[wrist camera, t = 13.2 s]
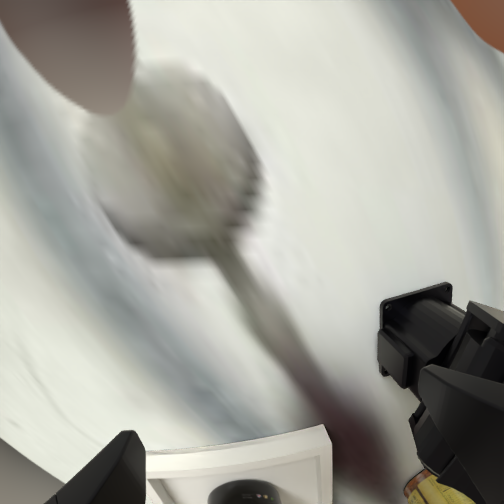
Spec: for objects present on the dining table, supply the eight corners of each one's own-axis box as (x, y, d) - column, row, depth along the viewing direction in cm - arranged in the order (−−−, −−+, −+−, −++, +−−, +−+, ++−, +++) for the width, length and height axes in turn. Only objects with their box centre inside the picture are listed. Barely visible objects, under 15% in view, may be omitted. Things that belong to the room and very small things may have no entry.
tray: (323, 424, 23) (331, 443, 21) (326, 510, 27) (331, 526, 25) (135, 451, 22) (130, 471, 20) (189, 531, 26) (188, 547, 24)
